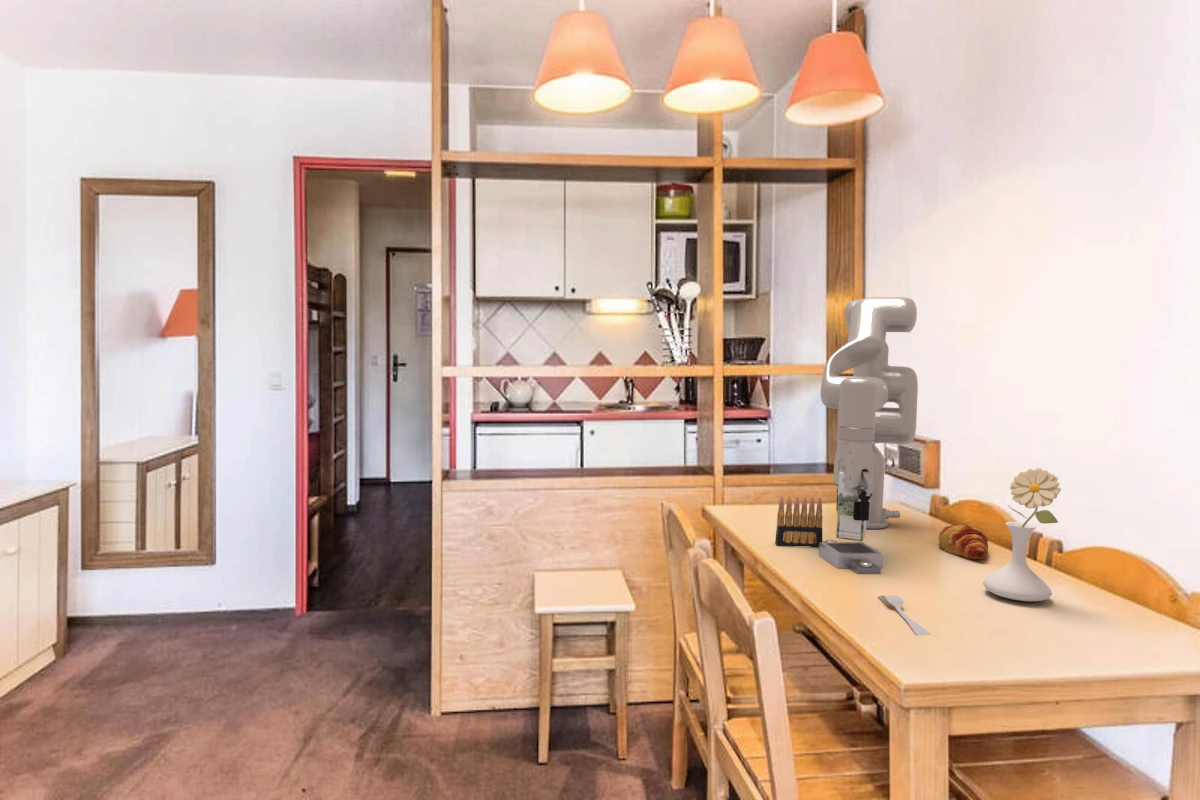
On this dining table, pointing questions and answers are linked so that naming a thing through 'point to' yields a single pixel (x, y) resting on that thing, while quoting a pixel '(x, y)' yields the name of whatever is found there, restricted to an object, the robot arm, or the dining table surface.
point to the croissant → (964, 541)
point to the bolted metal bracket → (852, 556)
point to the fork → (897, 603)
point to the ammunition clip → (799, 524)
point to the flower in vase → (1025, 538)
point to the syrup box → (848, 513)
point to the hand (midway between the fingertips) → (852, 515)
